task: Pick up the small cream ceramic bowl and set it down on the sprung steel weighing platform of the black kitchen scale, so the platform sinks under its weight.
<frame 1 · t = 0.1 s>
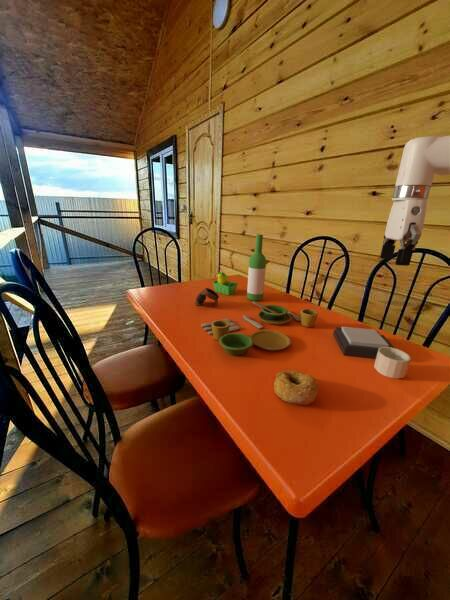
hand: (393, 261, 70), 28 cm above the table, tool pointing down, fingers open, 9 cm apart
fruit basket: (224, 293, 130), on the table
bowl: (388, 371, 68), on the table
weigh platform: (363, 337, 80), point 3 cm above the table, slide at 0.0 cm
bagel: (294, 393, 59), on the table
tableware set: (264, 331, 89), on the table
scale: (364, 346, 81), on the table
wine bottle: (254, 299, 122), on the table
dark brown arch: (205, 305, 112), on the table
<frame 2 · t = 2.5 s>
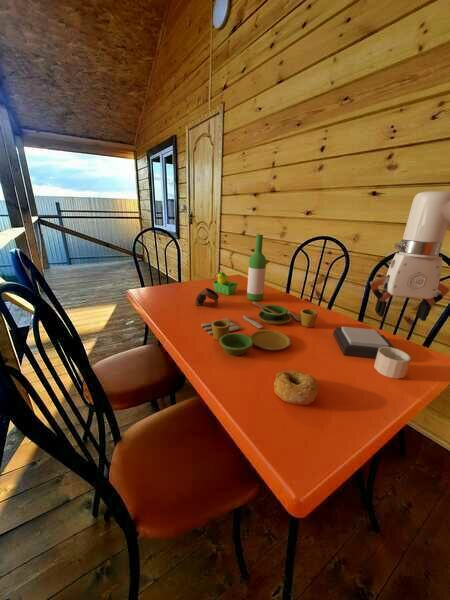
hand: (399, 316, 65), 15 cm above the table, tool pointing down, fingers open, 9 cm apart
nothing on the table moved.
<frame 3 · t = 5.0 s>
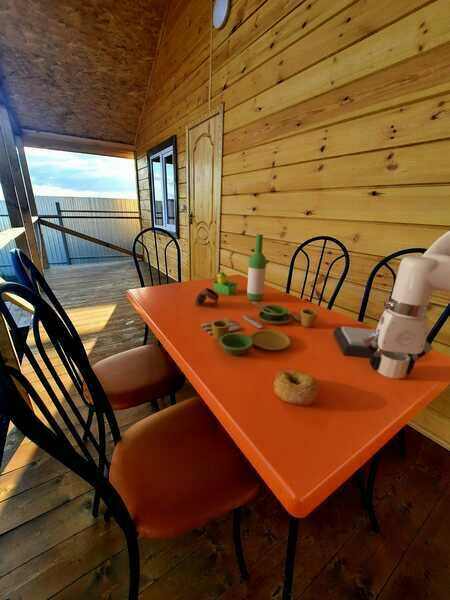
hand: (389, 368, 68), 1 cm above the table, tool pointing down, fingers closed on bowl, 7 cm apart
bowl: (388, 371, 68), on the table, touching gripper
everything else where it was.
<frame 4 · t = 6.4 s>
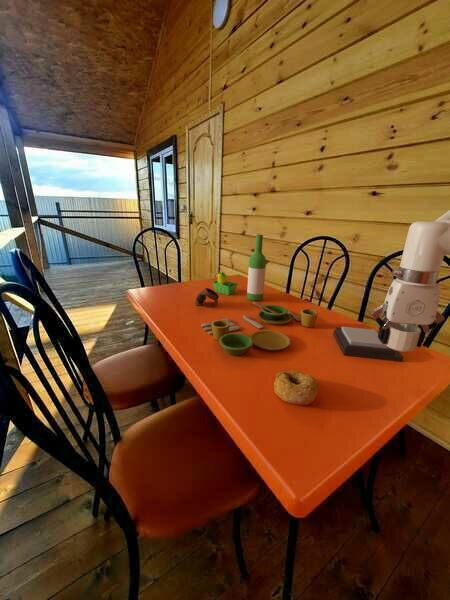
hand: (399, 342, 65), 9 cm above the table, tool pointing down, fingers closed on bowl, 7 cm apart
bowl: (398, 345, 66), point 8 cm above the table, touching gripper
everything else where it was.
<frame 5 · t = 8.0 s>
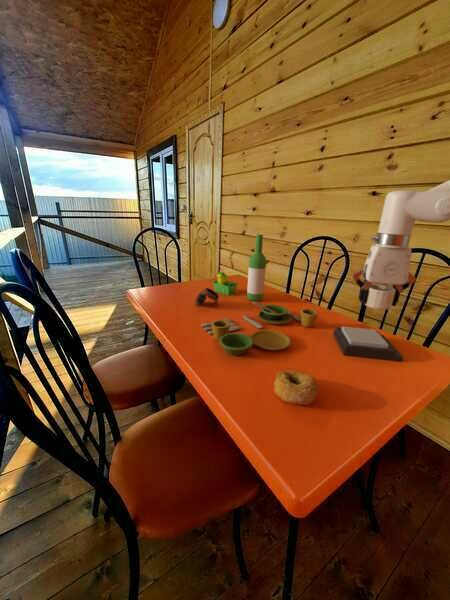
hand: (376, 302, 73), 16 cm above the table, tool pointing down, fingers closed on bowl, 7 cm apart
bowl: (376, 305, 74), point 15 cm above the table, touching gripper
everything else where it was.
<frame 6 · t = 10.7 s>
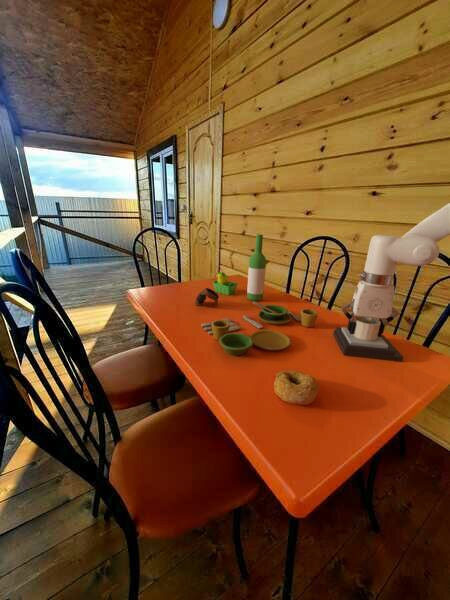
hand: (364, 333, 79), 5 cm above the table, tool pointing down, fingers closed on bowl, 7 cm apart
bowl: (363, 335, 80), point 4 cm above the table, touching gripper, weigh platform
weigh platform: (362, 338, 80), point 3 cm above the table, slide at -0.3 cm, touching bowl
everything else where it was.
when the fingers open (5 cm above the table, at t = 11.0 s): bowl stays where it is, resting on weigh platform.
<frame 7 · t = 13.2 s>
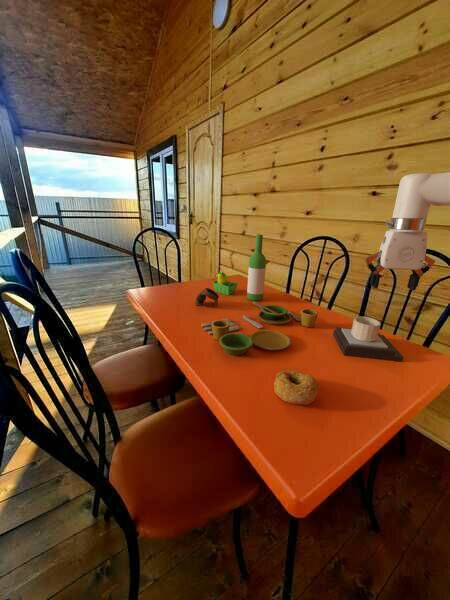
hand: (392, 288, 72), 20 cm above the table, tool pointing down, fingers open, 9 cm apart
bowl: (363, 336, 80), point 3 cm above the table, touching weigh platform
weigh platform: (362, 339, 80), point 3 cm above the table, slide at -0.7 cm, touching bowl
everything else where it was.
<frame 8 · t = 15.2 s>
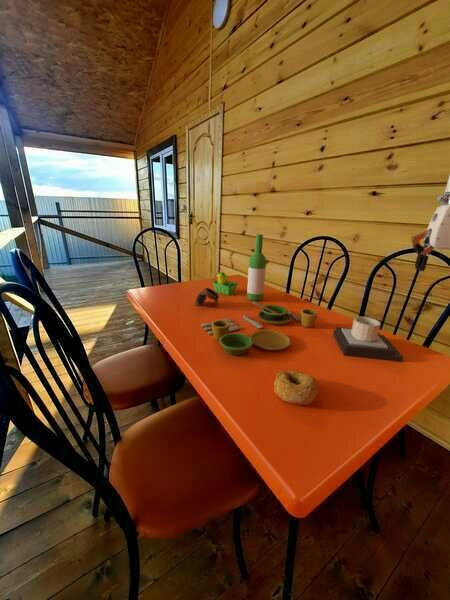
hand: (439, 271, 66), 26 cm above the table, tool pointing down, fingers open, 9 cm apart
nothing on the table moved.
at the end: bowl inside the target area on the scale (0.0 cm from its centre), point 3.4 cm above the scale's base; bowl tilted 0°; weigh platform pushed in 0.7 cm at the most during the clip, back to 0.7 cm at the end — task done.
